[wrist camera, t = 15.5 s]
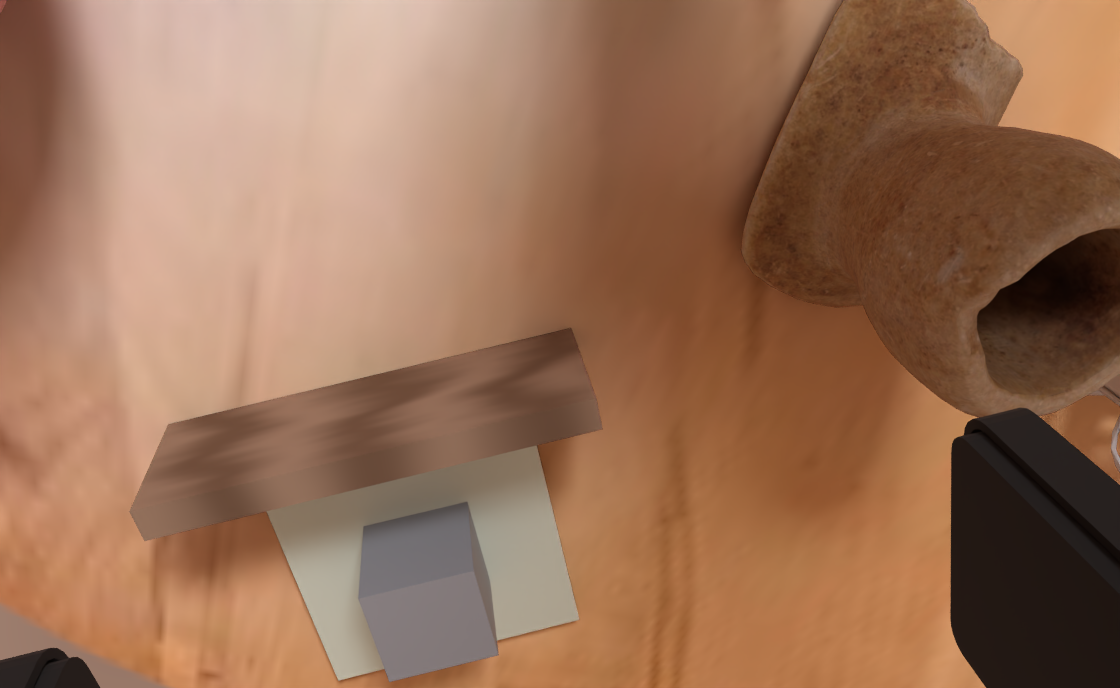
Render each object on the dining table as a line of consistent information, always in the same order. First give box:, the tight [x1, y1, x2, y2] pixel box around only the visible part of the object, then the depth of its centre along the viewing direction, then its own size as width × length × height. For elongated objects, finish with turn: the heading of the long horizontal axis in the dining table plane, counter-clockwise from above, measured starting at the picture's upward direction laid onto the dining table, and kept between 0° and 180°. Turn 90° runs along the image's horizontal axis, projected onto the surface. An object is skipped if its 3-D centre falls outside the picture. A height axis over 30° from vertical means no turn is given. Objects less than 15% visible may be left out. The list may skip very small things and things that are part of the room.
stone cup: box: [741, 0, 1120, 418], centre depth 37 cm, size 15×12×15 cm
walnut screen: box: [129, 328, 603, 541], centre depth 43 cm, size 20×2×7 cm, turn 101°
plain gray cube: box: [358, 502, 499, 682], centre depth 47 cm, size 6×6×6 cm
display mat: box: [266, 445, 579, 681], centre depth 50 cm, size 14×14×1 cm
